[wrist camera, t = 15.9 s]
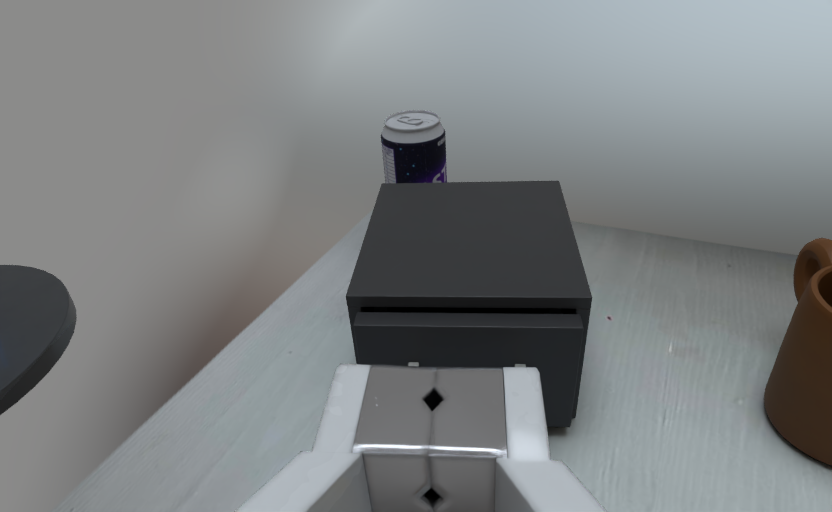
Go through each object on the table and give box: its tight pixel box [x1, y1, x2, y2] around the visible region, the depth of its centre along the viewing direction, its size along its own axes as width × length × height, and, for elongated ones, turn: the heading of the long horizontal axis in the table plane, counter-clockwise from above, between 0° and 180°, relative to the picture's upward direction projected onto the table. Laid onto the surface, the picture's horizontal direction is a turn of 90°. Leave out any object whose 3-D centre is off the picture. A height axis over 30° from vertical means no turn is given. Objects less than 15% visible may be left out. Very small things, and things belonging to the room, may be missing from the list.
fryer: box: [346, 181, 592, 418], centre depth 40 cm, size 15×14×10 cm
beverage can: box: [381, 110, 447, 183], centre depth 52 cm, size 6×6×12 cm
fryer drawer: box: [353, 307, 583, 427], centre depth 36 cm, size 18×12×8 cm
